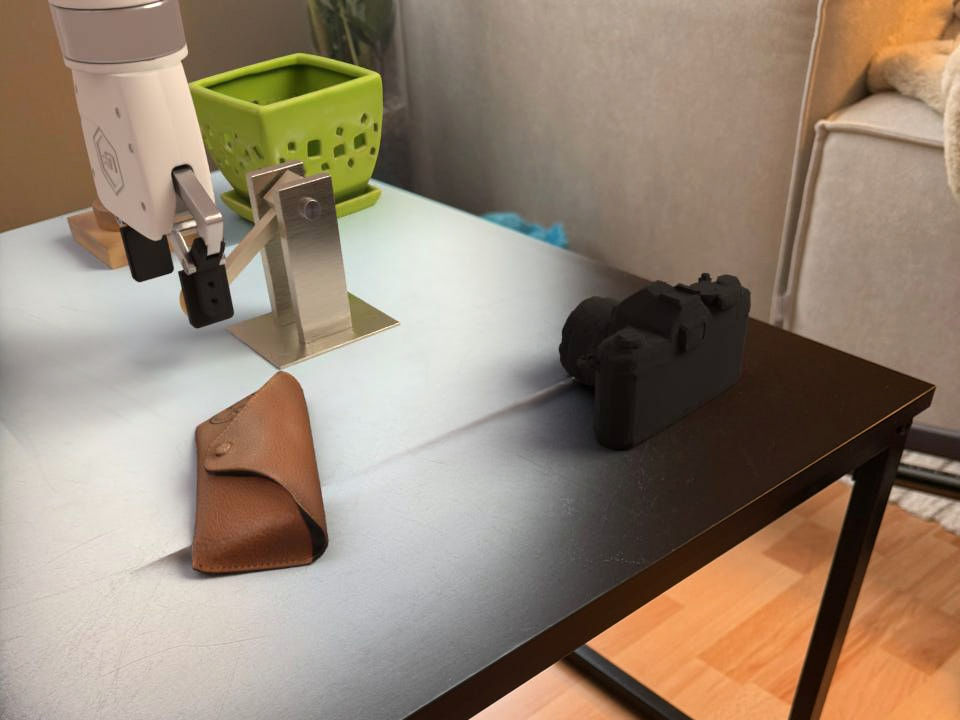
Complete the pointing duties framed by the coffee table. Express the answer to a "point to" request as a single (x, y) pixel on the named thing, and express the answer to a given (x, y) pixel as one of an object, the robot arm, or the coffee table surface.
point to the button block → (107, 234)
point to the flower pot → (294, 125)
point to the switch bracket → (304, 274)
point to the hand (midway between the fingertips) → (182, 298)
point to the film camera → (656, 353)
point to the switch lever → (252, 238)
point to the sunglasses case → (258, 484)
